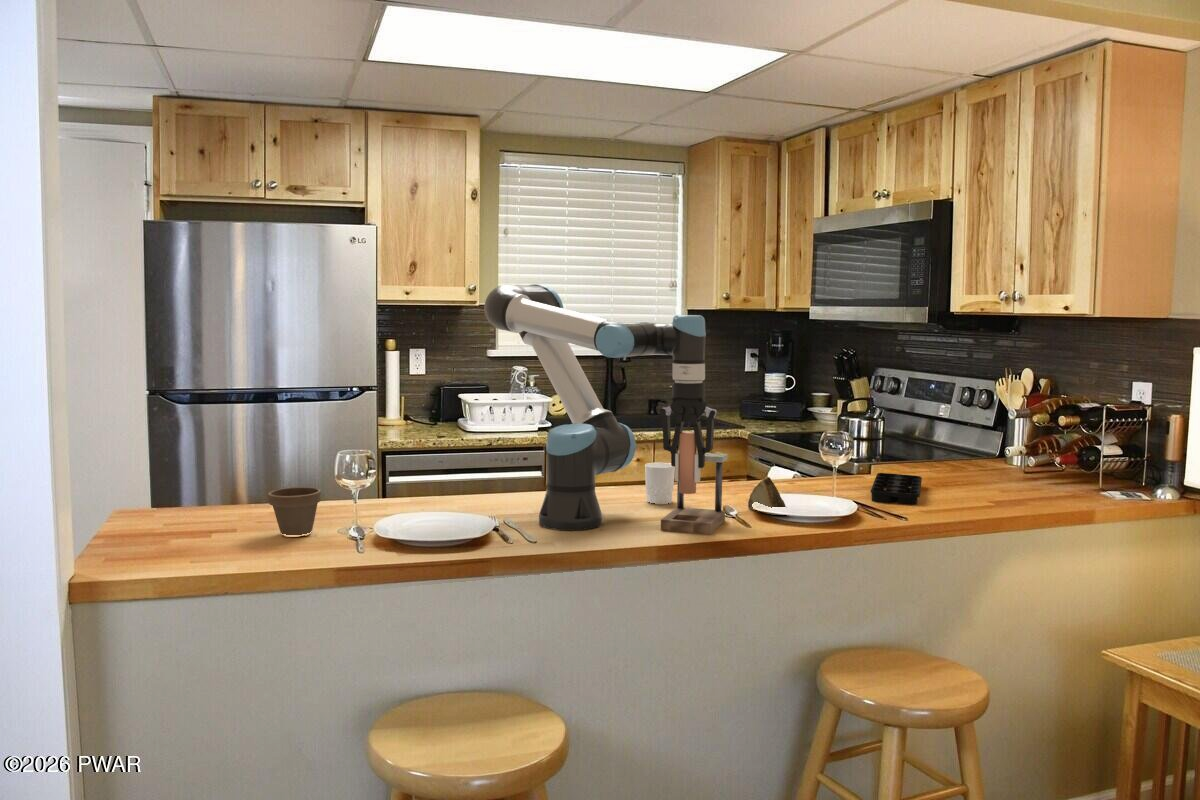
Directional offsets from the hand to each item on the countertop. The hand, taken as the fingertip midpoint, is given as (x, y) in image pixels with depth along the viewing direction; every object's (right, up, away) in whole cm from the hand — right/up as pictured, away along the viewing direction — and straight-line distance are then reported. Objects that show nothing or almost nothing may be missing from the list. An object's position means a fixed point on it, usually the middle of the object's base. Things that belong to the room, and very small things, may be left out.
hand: (687, 480), depth 234 cm
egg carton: (+62, -8, +44) cm, 77 cm away
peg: (0, -3, 0) cm, 3 cm away
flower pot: (-89, -12, -8) cm, 91 cm away
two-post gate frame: (+4, -8, +10) cm, 13 cm away
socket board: (+2, -11, +4) cm, 12 cm away
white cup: (-5, -8, +31) cm, 32 cm away
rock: (+22, -10, +20) cm, 31 cm away
